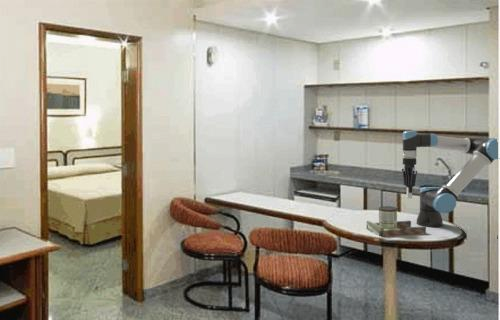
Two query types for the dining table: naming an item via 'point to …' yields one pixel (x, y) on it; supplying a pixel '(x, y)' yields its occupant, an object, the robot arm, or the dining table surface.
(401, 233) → the shallow brown tray
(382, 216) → the coffee can
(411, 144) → the robot arm
